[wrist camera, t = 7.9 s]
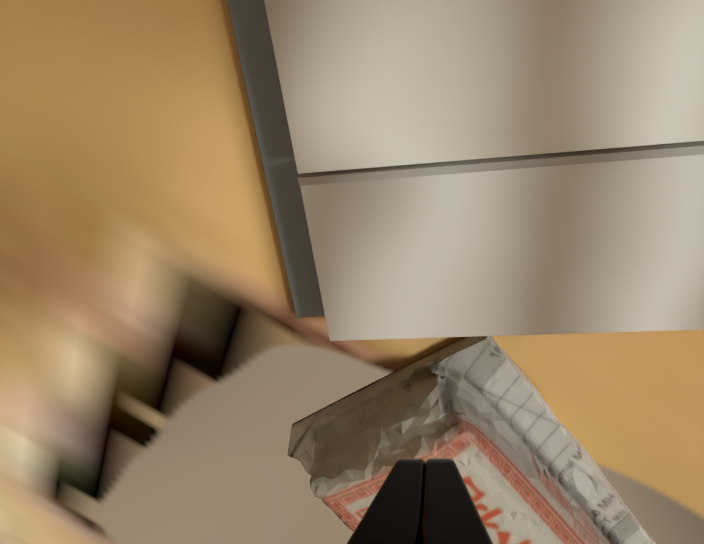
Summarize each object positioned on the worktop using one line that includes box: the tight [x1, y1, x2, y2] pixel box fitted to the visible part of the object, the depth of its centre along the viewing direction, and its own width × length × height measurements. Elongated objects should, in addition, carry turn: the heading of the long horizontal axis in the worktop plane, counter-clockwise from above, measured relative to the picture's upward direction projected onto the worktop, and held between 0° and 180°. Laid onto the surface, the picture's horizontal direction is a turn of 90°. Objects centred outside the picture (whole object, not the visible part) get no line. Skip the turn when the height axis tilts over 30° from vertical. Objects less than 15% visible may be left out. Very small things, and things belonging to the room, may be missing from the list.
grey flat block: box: [298, 141, 704, 341], centre depth 19 cm, size 16×6×2 cm, turn 98°
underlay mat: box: [227, 0, 325, 317], centre depth 17 cm, size 19×19×1 cm
